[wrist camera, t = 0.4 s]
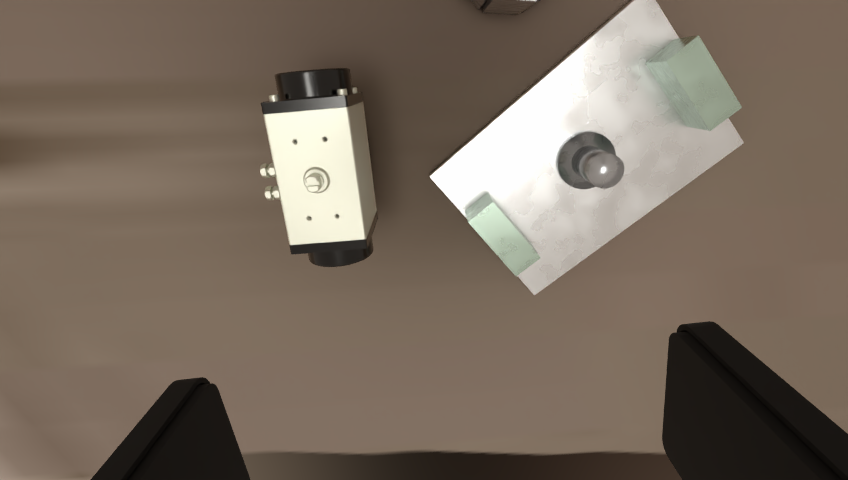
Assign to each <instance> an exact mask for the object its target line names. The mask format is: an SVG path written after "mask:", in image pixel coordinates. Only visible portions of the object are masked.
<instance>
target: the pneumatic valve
mask: <svg viewBox="0 0 848 480" xmlns="http://www.w3.org/2000/svg"><path fill="white" fill-rule="evenodd" d="M275 80H276V85H277V90H278V95H269V100H270V101H267V102H263V103H261V106H262V111H263V116H264V121H265V126H266V131H267V136H268V141H269V146H270V151H271V156H272V161H273V163H270V164H269V165H268V164H262V165H261V166H260V173H261V176H262V177H263V178H269V177H270V176H271V177H276V181H277V186H275V187H274V188H273V187H271V186H267V187H266V188H265V196H266V198H267V200H274V198H275V199H277V200H280V201H281V205H282V210H283V215H284V220H285V225H286V230H287V235H288V240H289V245H290V250H291V254H302V253H308V256H309V260H310V262H311V263H313V264H315V265H318V266H323V267H337V266H345V265H350V264H353V263H357V262H359V261H362V260H364V259H366V258H367V257H369V256H370V255H371V254H372V252H373V243H372V234H373V231H374V228H375V225H376V222H377V219H378V217H377V209H376V201H375V192H374V184H373V176H372V168H371V160H370V152H369V144H368V136H367V128H366V120H365V112H364V104H363V96H362V92H359V93H358V92H357V87H353V88H352V83H351V76H350V69H348V68H336V69H320V70H307V71H296V72H287V73H279V74H276V75H275Z"/></svg>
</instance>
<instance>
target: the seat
mask: <svg viewBox="0 0 848 480" xmlns="http://www.w3.org/2000/svg"><path fill="white" fill-rule="evenodd" d="M741 108H742V107H741V105H740V103H739V102H738V100H737V98H736V97H735V95H734V93H733V92H732V90H731V88H730V87H729V85H728V83H727V82H726V80H725V78H724V77H723V75H722V73H721V72H720V70H719V68H718V67H717V65H716V63H715V62H714V60H713V58H712V57H711V55H710V53H709V52H708V50H707V49H706V47H705V45H704V44H703V42H702V40H701V39H700V37H699V35H697V36H691V37H685V38H679V37H678V36H677V34H676V32H675V31H674V29H673V28H672V26H671V24H670V23H669V21H668V19H667V18H666V16H665V15H664V13H663V11H662V10H661V8H660V7H659V5H658V3H657V2H656V0H631V1H629V2H628V3H627V4H626V5H625V6H624V7H623V8H621V9H620V10H619V11H618V12H617V13H616V14H614V15H613V16H612V17H611V18H610V19H609V20H607V21H606V22H605V23H604V24H603V25H602V26H601V27H599V28H598V29H597V30H596V31H595V32H594V33H592V34H591V35H590V36H589V37H588V38H587V39H586V40H584V41H583V42H582V43H581V44H580V45H579V46H577V47H576V48H575V49H574V50H573V51H572V52H570V53H569V54H568V55H567V56H566V57H565V58H564V59H562V60H561V61H560V62H559V63H558V64H557V65H555V66H554V67H553V68H552V69H551V70H550V71H549V72H547V73H546V74H545V75H544V76H543V77H542V78H540V79H539V80H538V81H537V82H536V83H535V84H533V85H532V86H531V87H530V88H529V89H528V90H527V91H525V92H524V93H523V94H522V95H521V96H520V97H518V98H517V99H516V100H515V101H514V102H513V103H512V104H510V105H509V106H508V107H507V108H506V109H505V110H503V111H502V112H501V113H500V114H499V115H498V116H496V117H495V118H494V119H493V120H492V121H491V122H490V123H488V124H487V125H486V126H485V127H484V128H483V129H481V130H480V131H479V132H478V133H477V134H476V135H474V136H473V137H472V138H471V139H470V140H469V141H468V142H466V143H465V144H464V145H463V146H462V147H461V148H459V149H458V150H457V151H456V152H455V153H454V154H453V155H451V156H450V157H449V158H448V159H447V160H446V161H444V162H443V163H442V164H441V165H440V166H439V167H437V168H436V169H435V170H434V171H433V172H432V173H431V174H430V178H431V179H432V180H433V181H434V182H435V183H436V184H437V185H438V187H439V188H440V189H441V190H442V191H443V192H444V193H445V195H446V196H447V197H448V198H449V199H450V200H451V201H452V202H453V204H454V205H455V206H456V207H457V208H458V209H459V210H460V212H461V213H462V214H463V215H464V216H465V217H466V218H467V220H468V223H469V224H470V225H471V226H472V227H473V228H474V229H475V231H476V232H477V233H478V234H479V235H480V236H481V237H482V238H483V240H484V241H485V242H486V243H487V244H488V245H489V246H490V247H491V249H492V250H493V251H494V252H495V253H496V254H497V255H498V257H499V258H500V259H501V260H502V261H503V262H504V263H505V264H506V266H507V267H508V268H509V269H510V270H511V271H512V272H513V273H514V275H515V276H518V277H519V278H520V279H521V281H522V282H523V283H524V284H525V285H526V286H527V287H528V289H529V290H530V291H531V292H532V293H533V294H534V295H535V294H537V293H538V292H540V291H541V290H542V289H544V288H545V287H546V286H548V285H549V284H551V283H552V282H553V281H555V280H556V279H557V278H559V277H560V276H562V275H563V274H564V273H566V272H567V271H568V270H570V269H571V268H573V267H574V266H575V265H577V264H578V263H579V262H581V261H582V260H584V259H585V258H586V257H588V256H589V255H590V254H592V253H593V252H595V251H596V250H597V249H599V248H600V247H601V246H603V245H604V244H606V243H607V242H608V241H610V240H611V239H612V238H614V237H615V236H617V235H618V234H619V233H621V232H622V231H623V230H625V229H626V228H628V227H629V226H630V225H632V224H633V223H634V222H636V221H637V220H639V219H640V218H641V217H643V216H644V215H645V214H647V213H648V212H650V211H651V210H652V209H654V208H655V207H656V206H658V205H659V204H661V203H662V202H663V201H665V200H666V199H667V198H669V197H670V196H672V195H673V194H674V193H676V192H677V191H678V190H680V189H681V188H683V187H684V186H685V185H687V184H688V183H689V182H691V181H692V180H694V179H695V178H696V177H698V176H699V175H700V174H702V173H703V172H705V171H706V170H707V169H709V168H710V167H711V166H713V165H714V164H716V163H717V162H718V161H720V160H721V159H722V158H724V157H725V156H727V155H728V154H729V153H731V152H732V151H733V150H735V149H736V148H738V147H739V146H740V145H742V144H743V143H744V142H743V141H742V139H741V138H740V136H739V134H738V133H737V131H736V129H735V128H734V126H733V125H732V123H731V121H730V120H729V117H730V116H731V115H733V114H734V113H735V112H737V111H738V110H739V109H741Z"/></svg>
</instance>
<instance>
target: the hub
mask: <svg viewBox="0 0 848 480" xmlns="http://www.w3.org/2000/svg"><path fill="white" fill-rule="evenodd" d="M471 1H472V2H473V4H474V5H475V6H476V8H477V9H480V8H481V7H482V6H483V12H484V13H498V14H511V15H517V14H519V13H520V12H521V13H523V12H524V11H526V10H527V9H528V8H530V7H531V6H533V5H534V4H536V3H537V2H539V1H540V0H471Z"/></svg>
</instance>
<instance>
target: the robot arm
mask: <svg viewBox="0 0 848 480" xmlns="http://www.w3.org/2000/svg"><path fill="white" fill-rule="evenodd" d="M662 441H663V446H664V449H665V452H666V454H667V456H668V458H669V460H670V461H671V463H672V464H673V466H674V467H675V469H676V470H677V472H678V473H679V475H680V477H681V478H682V480H848V434H847V433H846V432H845V431H844V430H842V429H841V428H840V427H839V426H838V425H836V424H835V423H834V422H833V421H832V420H831V419H829V418H828V417H827V416H826V415H825V414H823V413H822V412H821V411H820V410H819V409H817V408H816V407H815V406H814V405H813V404H812V403H810V402H809V401H808V400H807V399H806V398H804V397H803V396H802V395H801V394H800V393H798V392H797V391H796V390H795V389H794V388H792V387H791V386H790V385H789V384H788V383H787V382H785V381H784V380H783V379H782V378H781V377H779V376H778V375H777V374H776V373H775V372H773V371H772V370H771V369H770V368H769V367H768V366H766V365H765V364H764V363H763V362H762V361H760V360H759V359H758V358H757V357H756V356H754V355H753V354H752V353H751V352H750V351H748V350H747V349H746V348H745V347H744V346H743V345H741V344H740V343H739V342H738V341H737V340H735V339H734V338H733V337H732V336H731V335H729V334H728V333H727V332H726V331H725V330H724V329H722V328H721V327H720V326H719V325H718V324H716V323H714V322H710V321H709V322H700V323H691V324H682V325H680V326H679V327H678V329H677V333H672V334H671V335H670V337H669V347H668V361H667V376H666V390H665V404H664V419H663V433H662ZM91 480H250V478H249V474H248V471H247V469H246V466H245V463H244V460H243V457H242V455H241V452H240V449H239V446H238V443H237V441H236V438H235V435H234V432H233V430H232V427H231V424H230V421H229V418H228V416H227V413H226V410H225V407H224V404H223V402H222V399H221V396H220V393H219V390H218V388H217V386H216V385H215V384H210V382H209V381H208V380H207V379H206V378H203V377H202V378H193V379H184V380H177V381H174V382H173V383H172V384H170V386H169V387H168V388H167V389H166V390H165V391H164V393H163V394H162V395H161V396H160V397H159V399H158V400H157V401H156V402H155V403H154V405H153V406H152V407H151V408H150V409H149V411H148V412H147V413H146V414H145V415H144V417H143V418H142V419H141V420H140V421H139V423H138V424H137V425H136V426H135V427H134V429H133V430H132V431H131V432H130V433H129V435H128V436H127V437H126V438H125V439H124V441H123V442H122V443H121V444H120V445H119V446H118V448H117V449H116V450H115V451H114V452H113V454H112V455H111V456H110V457H109V458H108V460H107V461H106V462H105V463H104V464H103V466H102V467H101V468H100V469H99V470H98V472H97V473H96V474H95V475H94V476H93V478H92V479H91Z"/></svg>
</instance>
